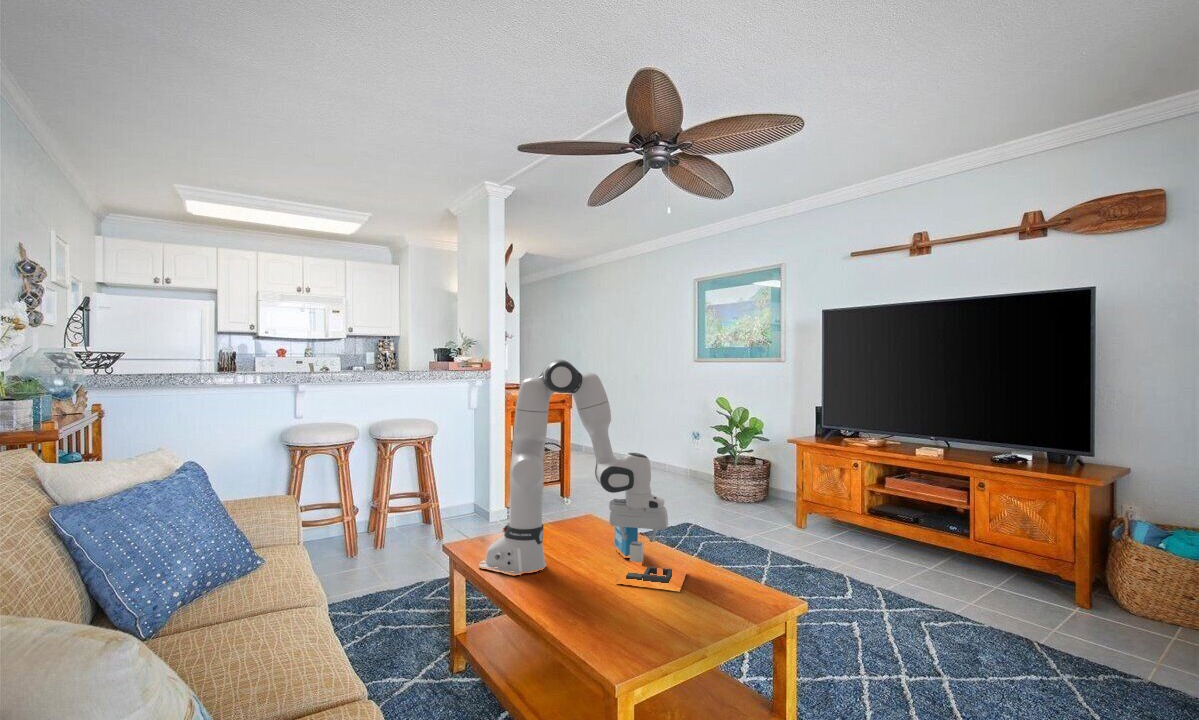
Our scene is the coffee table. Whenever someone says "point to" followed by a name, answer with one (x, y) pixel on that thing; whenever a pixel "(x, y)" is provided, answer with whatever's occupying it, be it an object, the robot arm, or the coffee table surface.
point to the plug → (636, 551)
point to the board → (652, 578)
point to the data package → (625, 544)
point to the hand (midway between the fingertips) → (638, 540)
